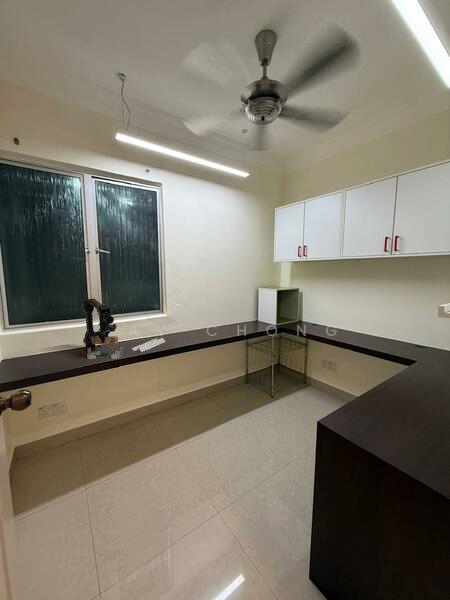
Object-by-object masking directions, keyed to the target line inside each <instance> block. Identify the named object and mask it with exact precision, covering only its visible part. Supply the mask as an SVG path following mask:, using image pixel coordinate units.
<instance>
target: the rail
mask: <svg viewBox="0 0 450 600" xmlns="http://www.w3.org/2000/svg"><path fill="white" fill-rule="evenodd" d="M118 343H119V337H118V335H116V336H115V335H114V336H109V335H108V336H105V342H104V343H103V342H102V341H101V339H100V338H99V336H94V337H92V344H95V345H117V344H118Z"/></svg>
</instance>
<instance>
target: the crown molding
mask: <svg viewBox="0 0 450 600" xmlns="http://www.w3.org/2000/svg"><path fill="white" fill-rule="evenodd" d="M165 342H166V340H165V339H164V338H163V337H161V338H159V339H158V338H153V339H151V340H149V341H147V342H146V341H145V342H144V343H142V344H140V345H137V346H135V347H132V348H131V349H130V351H134V352H140V353H143V351H144V352H145V350H146V351H148V350H150V349H152V348H155V347H156V346H159V345H161V344H164V343H165Z"/></svg>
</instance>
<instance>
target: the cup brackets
mask: <svg viewBox="0 0 450 600" xmlns="http://www.w3.org/2000/svg"><path fill="white" fill-rule="evenodd" d="M123 348H124V347H122V346H121V347H119V350H115V351H114V353H113V354H111V355H110V357H111V359H112V360H113V359H116V360H117V359H120V358H122V357H123V356H124V351H123V350H124V349H123ZM97 356H101V350H91V347H89V348H88V350H87V359H89V360H92V359H95V360H96V359H97Z"/></svg>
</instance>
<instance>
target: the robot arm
mask: <svg viewBox="0 0 450 600" xmlns="http://www.w3.org/2000/svg"><path fill="white" fill-rule="evenodd" d="M81 308H82V312H84V313H85V323H86V324H85V326H86V331H85V333H84V337H83V339H82V342H83V343H84V345H85V346H84V347H85V349H84V351H88V348H89V347H91V351H95V349H96V348H97V347H96V345H97V344H92V337H94V336H99V338H100V339H101V341H102V342H103V343H104V342H105V336H109V335H110V333H114V332H115V331H116V330H117V324H116V323H114V322H115V318H114V317H113V316H112V310H111V309H110V307H109V305H108V304H104V303H101V302H99V301H98V300H96V298H94V297H93V298H88V299H87V300H86V301H85V300H84V302H83V303H82V304H81ZM95 309H96V312H97V315H98V319H99V320H98V321H99V323H98V326H99V329H98V330H96V331H95V330H94V323H93V321H94V319H93V312H94V310H95Z"/></svg>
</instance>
